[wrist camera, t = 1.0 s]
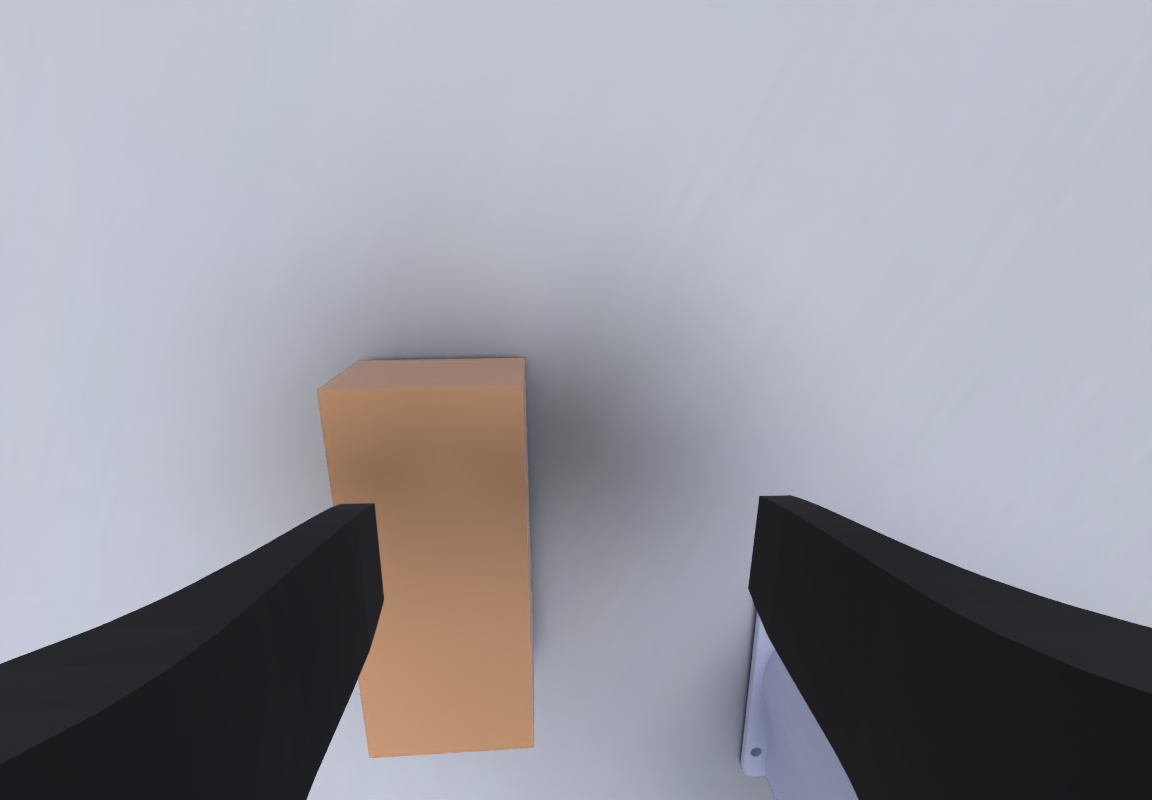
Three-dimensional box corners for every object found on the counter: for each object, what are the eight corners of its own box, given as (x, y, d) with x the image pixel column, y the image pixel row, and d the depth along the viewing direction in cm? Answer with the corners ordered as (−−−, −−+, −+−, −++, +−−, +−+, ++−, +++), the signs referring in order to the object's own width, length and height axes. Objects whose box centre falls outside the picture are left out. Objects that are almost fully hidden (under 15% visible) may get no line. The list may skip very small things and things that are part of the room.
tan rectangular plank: (533, 667, 22) (533, 747, 18) (396, 674, 21) (369, 757, 18) (525, 357, 18) (522, 385, 15) (359, 360, 18) (316, 389, 14)
